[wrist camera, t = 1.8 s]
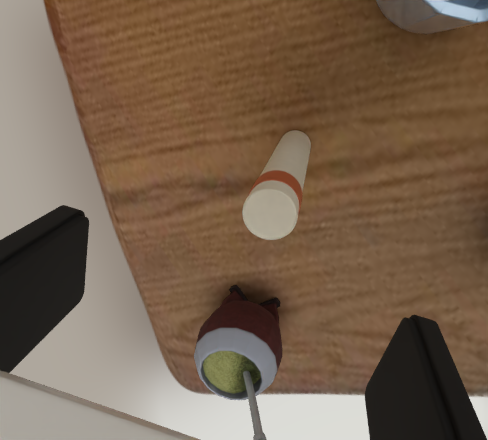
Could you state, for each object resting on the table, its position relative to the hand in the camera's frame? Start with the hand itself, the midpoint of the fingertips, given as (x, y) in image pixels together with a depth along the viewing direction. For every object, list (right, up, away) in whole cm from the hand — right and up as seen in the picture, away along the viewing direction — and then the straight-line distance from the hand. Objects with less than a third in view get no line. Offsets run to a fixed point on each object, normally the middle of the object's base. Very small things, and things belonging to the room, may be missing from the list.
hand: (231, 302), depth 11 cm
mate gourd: (+1, -6, +25) cm, 26 cm away
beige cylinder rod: (+4, +8, +18) cm, 20 cm away
